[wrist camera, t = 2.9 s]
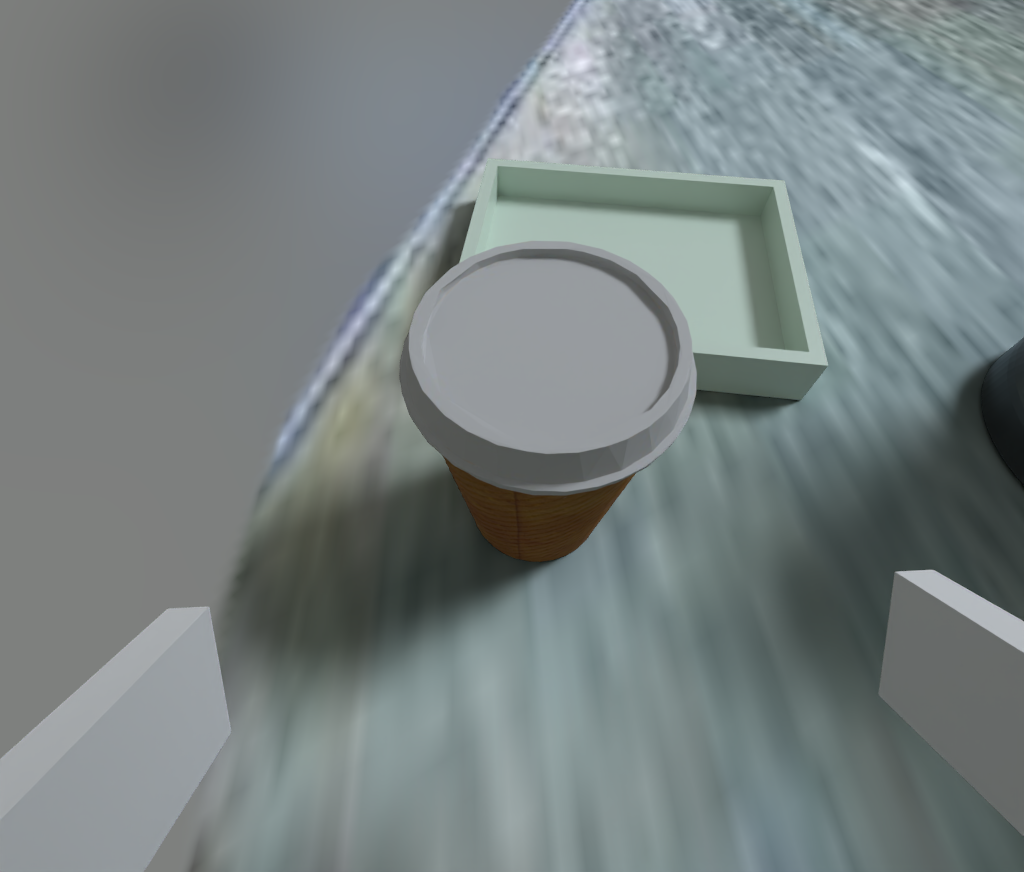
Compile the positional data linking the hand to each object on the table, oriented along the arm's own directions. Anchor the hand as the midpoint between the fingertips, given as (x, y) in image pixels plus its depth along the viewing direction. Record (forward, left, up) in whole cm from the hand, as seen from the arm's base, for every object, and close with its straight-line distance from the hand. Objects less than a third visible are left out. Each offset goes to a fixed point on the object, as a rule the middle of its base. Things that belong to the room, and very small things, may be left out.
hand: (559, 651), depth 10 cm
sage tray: (-3, -25, -13) cm, 29 cm away
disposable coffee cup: (+1, -9, -13) cm, 16 cm away
